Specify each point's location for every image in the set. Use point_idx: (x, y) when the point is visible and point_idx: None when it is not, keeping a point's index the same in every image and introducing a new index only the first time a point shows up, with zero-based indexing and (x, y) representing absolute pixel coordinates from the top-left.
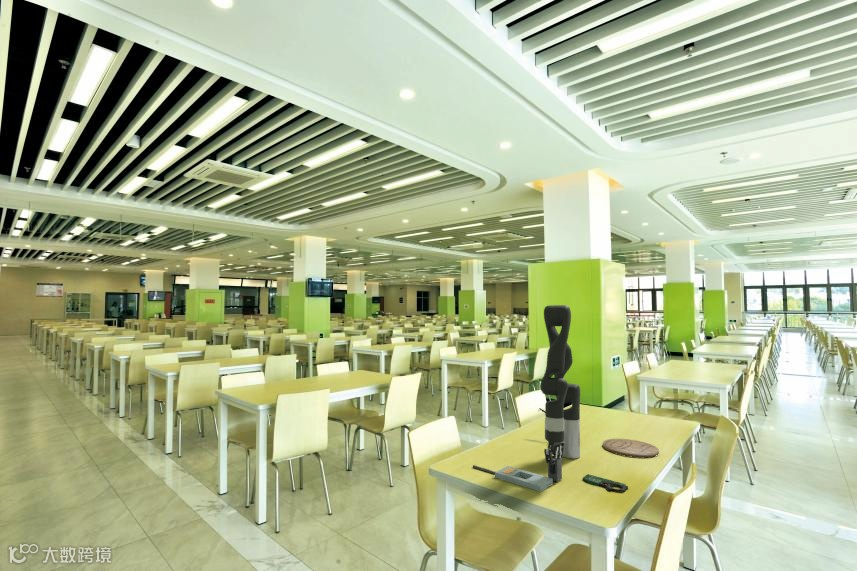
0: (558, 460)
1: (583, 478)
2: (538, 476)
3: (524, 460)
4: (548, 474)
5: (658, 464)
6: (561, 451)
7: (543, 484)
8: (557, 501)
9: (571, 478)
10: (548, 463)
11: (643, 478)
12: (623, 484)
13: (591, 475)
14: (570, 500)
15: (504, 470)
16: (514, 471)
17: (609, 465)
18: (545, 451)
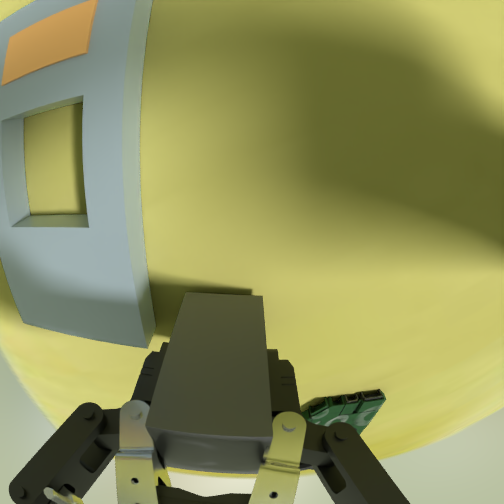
0: (191, 467)
1: (321, 408)
2: (99, 265)
3: (449, 14)
4: (178, 317)
5: (496, 408)
6: (333, 496)
7: (44, 328)
8: (45, 370)
9: (318, 365)
10: (158, 386)
11: (414, 444)
12: None
13: (373, 410)
14: (87, 399)
15: (31, 26)
16: (56, 69)
17: (495, 368)
18: (19, 487)
